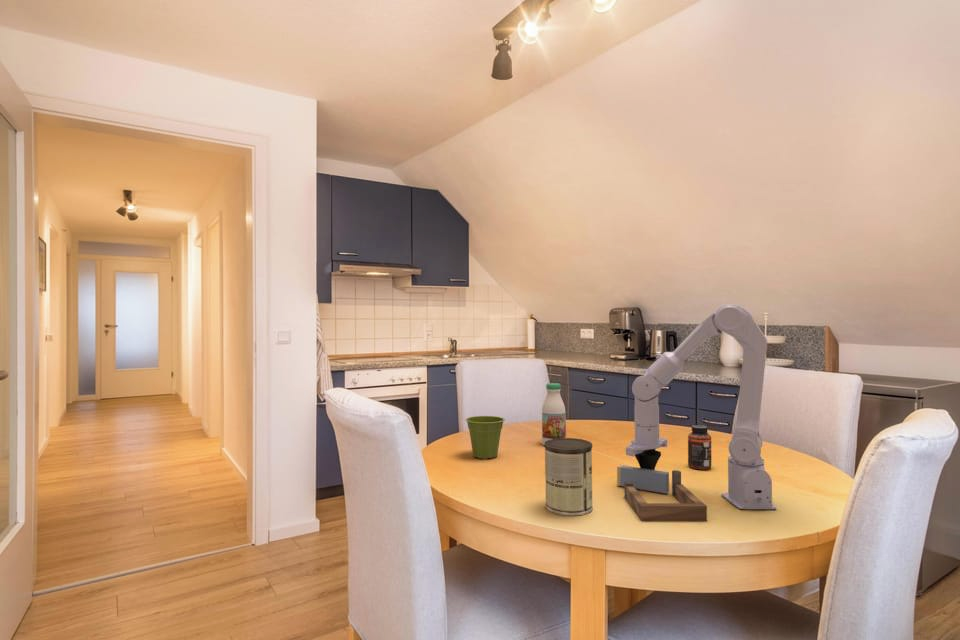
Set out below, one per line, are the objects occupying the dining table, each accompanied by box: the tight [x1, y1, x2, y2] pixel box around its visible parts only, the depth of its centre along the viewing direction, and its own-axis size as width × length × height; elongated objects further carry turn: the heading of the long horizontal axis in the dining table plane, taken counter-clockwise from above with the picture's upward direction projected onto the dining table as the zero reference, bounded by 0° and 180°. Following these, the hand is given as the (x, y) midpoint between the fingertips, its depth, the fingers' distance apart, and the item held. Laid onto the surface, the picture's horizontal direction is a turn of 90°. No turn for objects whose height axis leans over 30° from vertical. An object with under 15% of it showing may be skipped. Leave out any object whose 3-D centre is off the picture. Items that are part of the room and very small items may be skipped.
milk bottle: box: [541, 382, 567, 446], centre depth 173 cm, size 8×8×20 cm
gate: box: [616, 464, 670, 494], centre depth 128 cm, size 12×2×4 cm, turn 56°
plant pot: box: [464, 415, 506, 460], centre depth 160 cm, size 12×12×11 cm
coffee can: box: [544, 437, 594, 517], centre depth 116 cm, size 10×10×14 cm
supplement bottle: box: [687, 424, 712, 471], centre depth 146 cm, size 6×6×11 cm
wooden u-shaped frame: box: [623, 469, 708, 522], centre depth 116 cm, size 17×13×6 cm
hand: (647, 480), depth 130 cm, fingers closed
